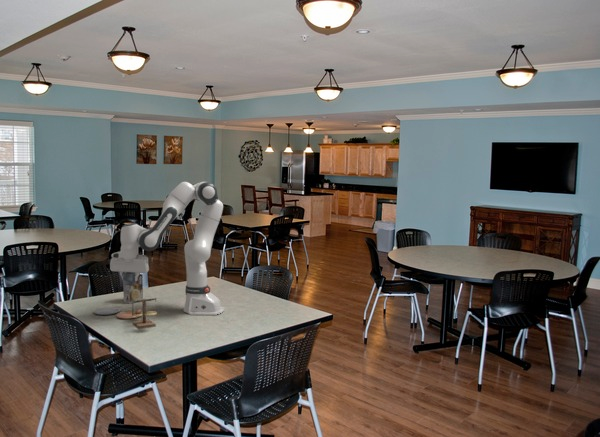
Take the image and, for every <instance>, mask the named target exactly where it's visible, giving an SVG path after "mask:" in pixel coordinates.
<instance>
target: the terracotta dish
mask: <svg viewBox="0 0 600 437" xmlns="http://www.w3.org/2000/svg"><path fill="white" fill-rule="evenodd" d="M133 313H135V310H133ZM116 317H117V318H118V319H123V320H124V319H125V320H126V319H127V320H129V319H137V318H141V316H138V317H135V316H132V310H125V311H119V312H118V313H116Z"/></svg>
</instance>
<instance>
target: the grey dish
mask: <svg viewBox="0 0 600 437" xmlns="http://www.w3.org/2000/svg"><path fill="white" fill-rule="evenodd" d="M120 312H121V310H120V308H118V307H116V306H115V307H114V306H113V307H111V306H108V307H107V306H106V307H104V306H103V307H99V308H96V309H94V310H93V313H94V314H96V315H101V316H102V315H103V316H107V315H108V316H109V315H114V314H118V313H120Z"/></svg>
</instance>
